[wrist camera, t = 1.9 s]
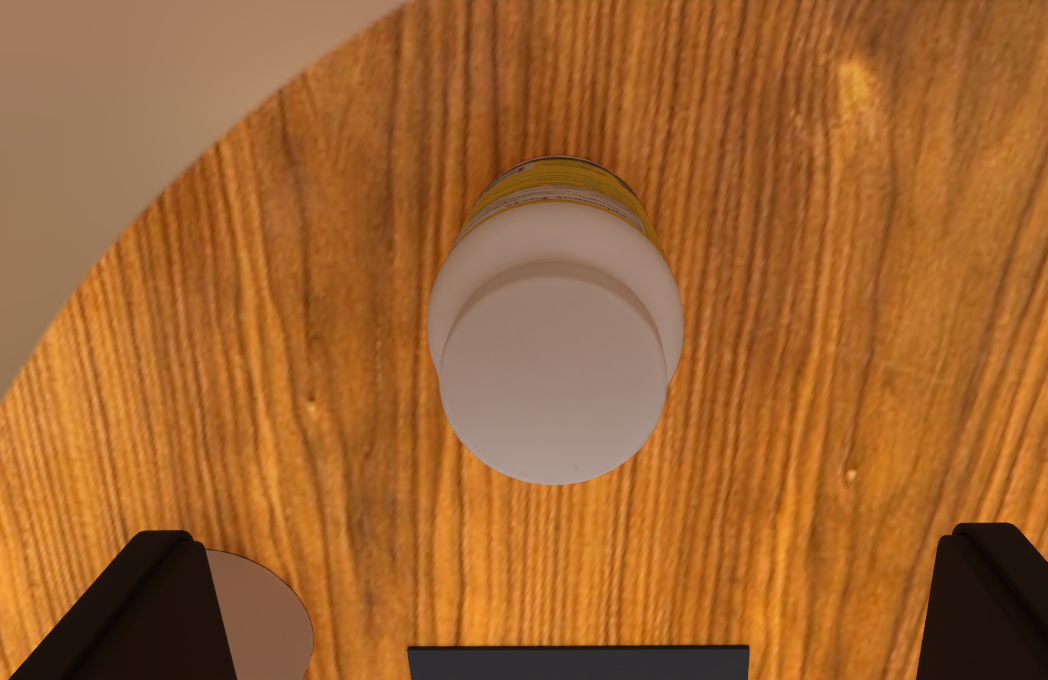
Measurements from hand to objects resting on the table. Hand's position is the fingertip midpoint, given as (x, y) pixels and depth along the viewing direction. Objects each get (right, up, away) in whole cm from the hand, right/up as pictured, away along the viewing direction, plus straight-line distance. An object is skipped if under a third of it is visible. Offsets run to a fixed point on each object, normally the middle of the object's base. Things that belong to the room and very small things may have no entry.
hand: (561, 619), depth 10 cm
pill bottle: (+1, +7, +16) cm, 18 cm away
